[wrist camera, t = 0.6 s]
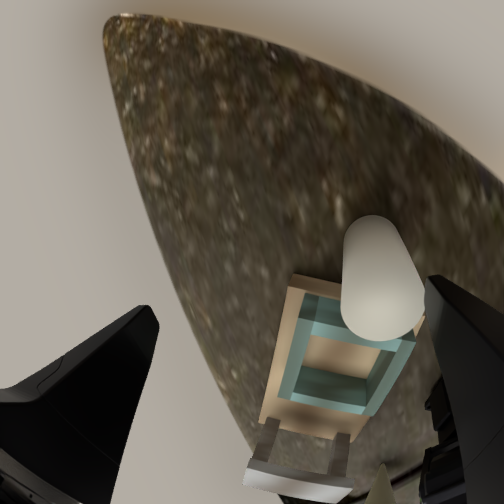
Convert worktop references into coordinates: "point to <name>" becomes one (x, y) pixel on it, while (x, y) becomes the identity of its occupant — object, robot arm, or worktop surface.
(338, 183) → the worktop surface
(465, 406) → the robot arm
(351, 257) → the peg
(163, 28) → the worktop surface
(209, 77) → the worktop surface
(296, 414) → the socket board
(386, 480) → the ice cream cone
